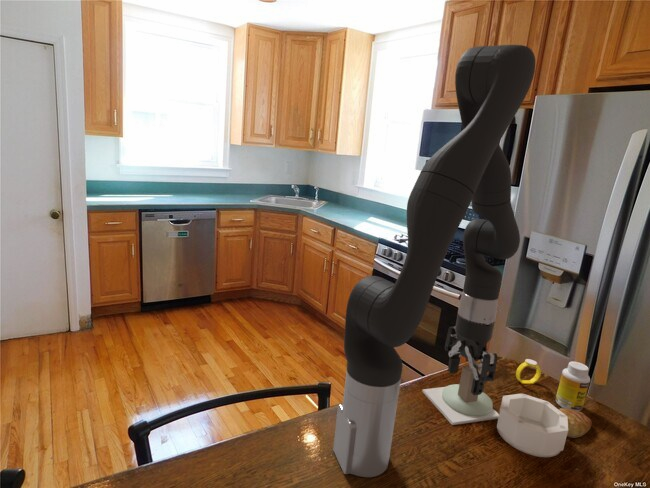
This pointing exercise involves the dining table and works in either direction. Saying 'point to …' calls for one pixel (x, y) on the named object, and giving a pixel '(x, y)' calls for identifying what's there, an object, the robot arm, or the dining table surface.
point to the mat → (451, 414)
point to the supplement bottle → (573, 386)
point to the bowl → (532, 425)
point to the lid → (466, 396)
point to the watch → (527, 363)
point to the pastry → (576, 423)
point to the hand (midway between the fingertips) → (463, 382)
